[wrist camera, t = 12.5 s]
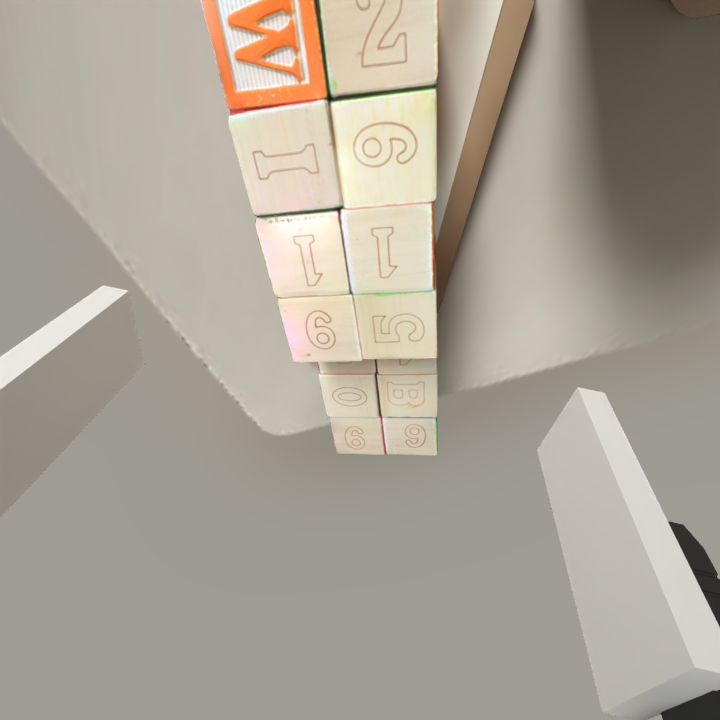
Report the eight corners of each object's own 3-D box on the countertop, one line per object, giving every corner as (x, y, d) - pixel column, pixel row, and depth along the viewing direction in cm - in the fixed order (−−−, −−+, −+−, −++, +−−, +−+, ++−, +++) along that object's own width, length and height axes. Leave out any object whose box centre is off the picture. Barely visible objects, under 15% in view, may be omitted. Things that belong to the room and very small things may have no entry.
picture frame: (534, -23, 20) (544, -30, 18) (416, 365, 34) (416, 381, 32) (332, -61, 20) (322, -72, 18) (299, 341, 34) (293, 355, 33)
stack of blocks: (435, 364, 31) (438, 503, 21) (355, 364, 32) (322, 497, 22) (435, -9, 19) (442, -84, 9) (305, 12, 20) (185, -35, 10)
